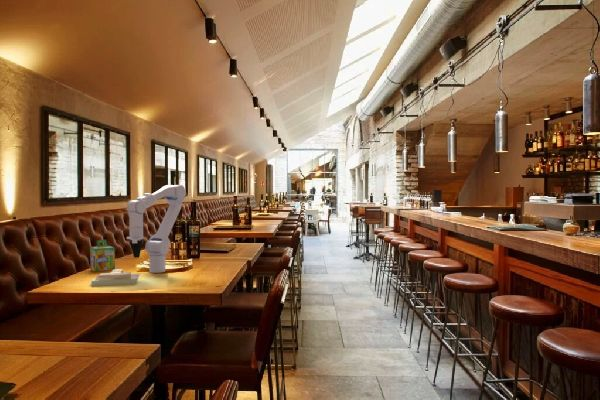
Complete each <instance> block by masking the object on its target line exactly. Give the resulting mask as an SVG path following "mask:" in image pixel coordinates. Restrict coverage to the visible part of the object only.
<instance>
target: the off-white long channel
mask: <svg viewBox="0 0 600 400" xmlns="http://www.w3.org/2000/svg"><path fill="white" fill-rule="evenodd" d="M91 283H92V286H91V287H99V286H100V287H102V286H103V285H105V286H120V285H121V286H123V285H122V284H124V285H136V284H137V283H138V280H137V277H134V279H116V280H96V279H95V278H93V279H92V280H91Z"/></svg>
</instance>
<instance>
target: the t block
mask: <svg viewBox="0 0 600 400" xmlns="http://www.w3.org/2000/svg"><path fill="white" fill-rule="evenodd" d="M131 274H132V273H131V272H130V271H129V272H128V271H127V272H126V271H125V272H124V270H123V269H121V268H120V269H117V268H116V269H115V270H111V272H109V273H107V272H106V273H99V274H98V276H99V280H116V279H131Z"/></svg>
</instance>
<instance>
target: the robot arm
mask: <svg viewBox="0 0 600 400" xmlns="http://www.w3.org/2000/svg"><path fill="white" fill-rule="evenodd" d="M186 195H187V192H186V187H185V186H184V185H182V184H174V185H173V184H166V185H164V186H163V185H162V187H161V188H160V189H158V190H156V191H155V192H153V193H149V192H147V193H143V195H142V196H140V197H136V199H135V200H133V199H132V200H130V201H129V202H128V203H127V205H126V206H125V207H126V209H125V210H126V211H127V213H128V215H127V216H128V217H129V236H126V240H131V241H129V246H130V247H131V248H130V249H131V250H132V254H133V258H134V259H135V258H136V259H137V258H140V255H141V251H142V246H143V244H144V238H145V237H144V213H145V212H146V209H149V207H152V206H154V205H155V204H156V201H157V200H160V199H162V198H164V199H165V200H166V203H167V204H168V205H169V206H168V208H167V210H166V212H165V214H164V217H163V219H162V221H161V223H160V224H159V227H158V229H157V231H156V233H155V234H152V236H150V237H149V239H148V240H147V241H146V243H145V246H144V247H145V251H146V252H147V255H149V256H148V257H149V260H148V262H149V263H148V264H149V266H148V267H149V272H148V273H150V274H151V273H152V274H157V273H159V274H160V273H165V272H166V255H167V253H168V251H169V249H170V244H171V240H170V238H169V236H170V234H171V231H172V229H173V227H174V224H175V222H176V221H177V219H178V218H177V217H178V216H179V215H180V211H181V209H182V206H183V201H184V199H185V197H186Z"/></svg>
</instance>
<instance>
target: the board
mask: <svg viewBox="0 0 600 400" xmlns="http://www.w3.org/2000/svg"><path fill="white" fill-rule="evenodd" d="M140 276H141V273H131V279H134V277H137V281H139V277H140ZM94 279H96V280H99V275H97V276H96V277H95V278H94ZM123 285H125V284H122V285H121V286H123ZM103 286H106V285H103ZM89 287H93V286H92V282H91V283H90V284H89Z"/></svg>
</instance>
